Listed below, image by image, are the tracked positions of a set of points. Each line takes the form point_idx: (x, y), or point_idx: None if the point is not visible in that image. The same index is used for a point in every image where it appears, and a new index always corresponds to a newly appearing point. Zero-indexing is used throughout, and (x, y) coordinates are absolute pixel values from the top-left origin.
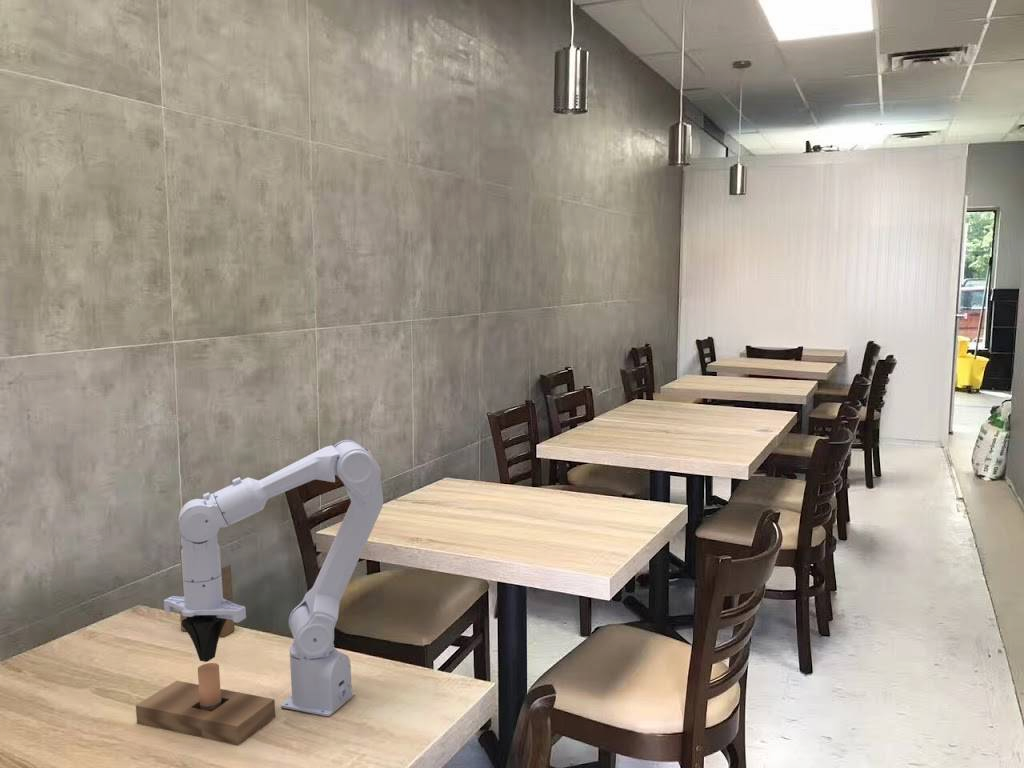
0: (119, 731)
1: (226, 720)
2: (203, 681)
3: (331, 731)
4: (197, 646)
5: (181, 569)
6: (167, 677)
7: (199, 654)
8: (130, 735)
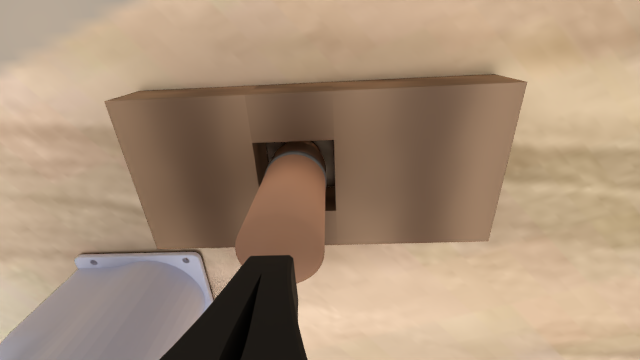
0: (519, 14)
1: (165, 117)
2: (274, 192)
3: (23, 215)
4: (265, 317)
5: None
6: (555, 271)
7: (272, 277)
8: (468, 9)
